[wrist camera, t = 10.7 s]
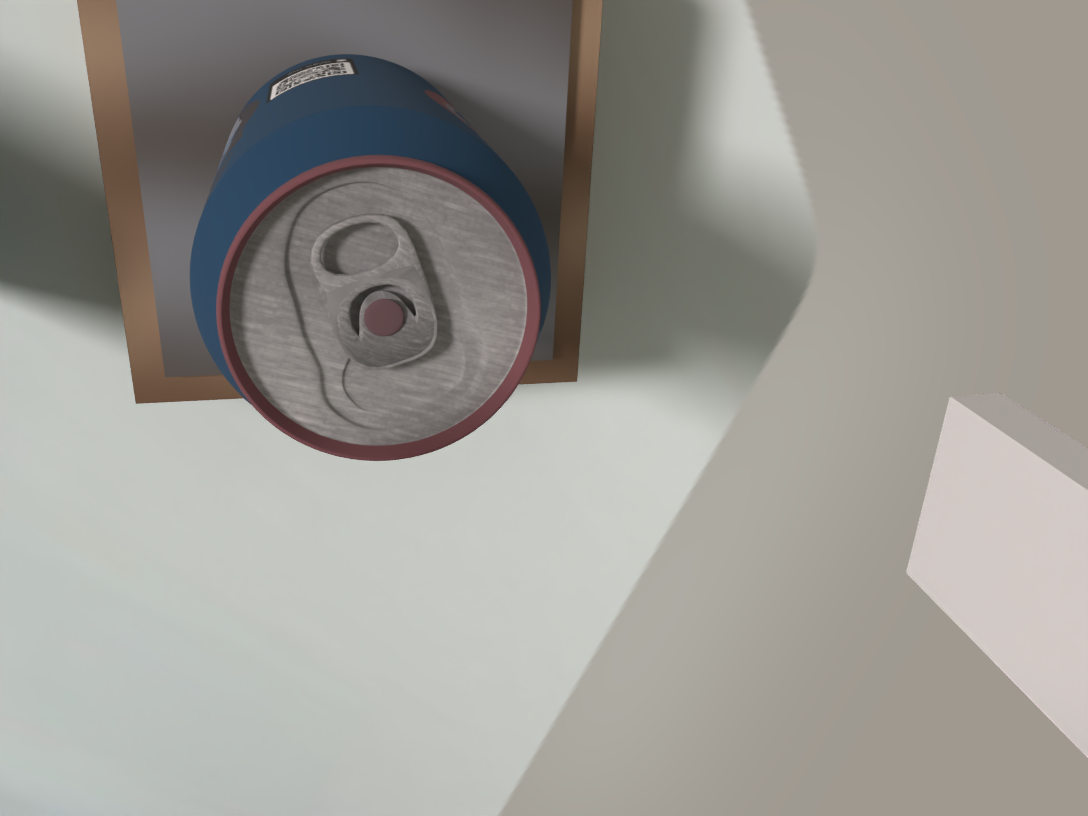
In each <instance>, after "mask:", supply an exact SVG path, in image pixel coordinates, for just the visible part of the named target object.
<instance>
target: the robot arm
mask: <svg viewBox="0 0 1088 816" xmlns="http://www.w3.org/2000/svg"><path fill="white" fill-rule="evenodd" d="M906 573H907V574H908V575H909V576H910V577H911V578H912V579H913V580H914V581H915V582H916V583H917V584H918V585H919V586H920V587H921V588H922V589H923V590H924V591H925V592H926V593H927V594H928V595H929V596H930V597H931V598H932V600H933V601H934V602H935V603H936V604H937V605H938V606H940V608H941V609H942V610H943V611H944V612H945V613H946V614H947V615H948V616H949V617H950V618H951V619H952V620H953V621H954V622H955V623H956V624H957V625H958V626H959V627H960V628H961V629H962V630H963V631H964V632H965V633H966V634H967V635H968V636H969V637H970V638H971V639H972V640H973V641H974V642H975V643H976V644H977V645H978V646H979V647H980V648H981V650H982V651H984V653H985V654H986V655H988V657H989V658H990V659H991V660H992V661H993V662H994V663H995V664H996V665H997V666H998V667H999V668H1000V669H1001V670H1002V671H1003V672H1004V673H1005V674H1006V675H1007V676H1008V677H1009V678H1010V679H1011V680H1012V681H1013V682H1014V683H1015V684H1016V685H1017V686H1018V687H1019V688H1020V689H1021V690H1022V691H1023V692H1024V693H1025V694H1026V695H1027V696H1028V697H1029V698H1030V699H1031V700H1032V701H1033V702H1034V703H1035V705H1036V706H1037V707H1038V708H1039V709H1040V710H1041V711H1042V712H1043V713H1044V714H1045V715H1046V716H1047V717H1048V718H1049V719H1050V720H1051V721H1052V722H1053V723H1054V724H1055V725H1056V726H1057V727H1058V728H1059V729H1060V730H1061V731H1062V732H1063V733H1064V734H1065V735H1066V736H1067V737H1068V738H1069V739H1070V740H1071V741H1072V742H1073V743H1074V744H1075V745H1076V746H1077V747H1078V748H1079V749H1080V750H1081V751H1082V753H1083V754H1084V755H1085V756H1086V757H1087V758H1088V448H1087V447H1086V446H1084V445H1082V444H1081V443H1079V442H1078V441H1076V440H1074V439H1073V438H1071V437H1070V436H1068V435H1066V434H1065V433H1063V432H1062V431H1060V430H1058V429H1057V428H1055V427H1054V426H1052V425H1051V424H1049V423H1047V422H1046V421H1044V420H1042V419H1041V418H1039V417H1038V416H1036V415H1035V414H1033V413H1032V412H1030V411H1028V410H1027V409H1025V408H1024V407H1022V406H1020V405H1019V404H1017V403H1016V402H1014V401H1012V400H1011V399H1009V398H1007V397H1006V396H1004V395H1003V394H1001V393H995V394H979V395H962V396H950V398H949V402H948V406H947V410H946V415H945V418H944V422H943V426H942V430H941V434H940V438H939V443H938V447H937V451H936V454H935V458H934V463H933V467H932V471H931V475H930V479H929V483H928V487H927V491H926V495H925V499H924V503H923V507H922V511H921V515H920V519H919V523H918V528H917V531H916V535H915V539H914V543H913V547H912V551H911V555H910V559H909V563H908V567H907V571H906Z"/></svg>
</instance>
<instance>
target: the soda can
mask: <svg viewBox="0 0 1088 816" xmlns="http://www.w3.org/2000/svg"><path fill="white" fill-rule="evenodd" d="M550 291H551V265H550V256H549V249H548V245H547V240H546V236H545V232H544V229H543V226H542V223H541V220H540V218H539V215H538V213H537V210H536V208H535V206H534V204H533V202H532V200H531V198H530V196H529V195H528V193H527V191H526V190H525V188H524V186H523V185H522V183H521V182H520V181H519V179H518V178H517V176H516V175H515V174H514V173H513V171H512V170H511V169H510V168H509V167H508V166H507V164H506V163H505V162H504V161H503V160H502V159H501V158H500V157H499V156H498V155H497V153H496V152H495V151H494V150H493V149H492V148H491V147H490V146H489V145H488V144H487V143H486V141H485V140H484V139H483V138H482V137H481V136H480V135H479V134H478V133H477V132H476V131H475V129H474V128H473V127H472V126H471V125H470V124H469V123H468V122H467V121H466V120H465V119H464V117H463V116H462V115H461V114H460V113H459V112H458V111H457V110H456V109H455V108H454V107H453V105H452V104H451V103H450V102H449V101H448V100H447V99H446V98H445V97H444V96H443V95H442V94H441V93H440V92H439V91H438V90H437V89H436V88H435V87H434V86H432V85H431V84H430V83H429V82H427V81H426V80H425V79H423V78H422V77H420V76H419V75H417V74H416V73H414V72H412V71H410V70H408V69H407V68H405V67H403V66H400V65H398V64H395V63H393V62H390V61H387V60H384V59H380V58H376V57H371V56H365V55H355V54H338V55H329V56H323V57H318V58H314V59H310V60H307V61H304V62H301V63H299V64H296V65H294V66H292V67H290V68H288V69H286V70H284V71H283V72H281V73H279V74H278V75H276V76H275V77H273V78H272V79H271V80H269V81H268V82H267V83H266V84H264V85H263V86H262V87H261V88H260V89H259V90H258V91H257V92H256V93H255V94H254V95H253V96H252V98H251V99H250V100H249V101H248V103H247V104H246V105H245V107H244V108H243V110H242V111H241V113H240V114H239V116H238V118H237V120H236V122H235V124H234V126H233V128H232V131H231V133H230V136H229V139H228V141H227V144H226V147H225V150H224V153H223V155H222V158H221V161H220V164H219V167H218V169H217V172H216V175H215V178H214V181H213V183H212V186H211V189H210V192H209V195H208V197H207V200H206V203H205V206H204V209H203V211H202V214H201V217H200V220H199V223H198V226H197V229H196V233H195V236H194V241H193V246H192V251H191V260H190V292H191V299H192V306H193V310H194V315H195V319H196V322H197V325H198V328H199V331H200V334H201V336H202V339H203V341H204V343H205V346H206V348H207V350H208V351H209V353H210V355H211V357H212V359H213V361H214V362H215V364H216V365H217V367H218V369H219V370H220V371H221V373H222V374H223V375H224V377H225V378H226V379H227V381H228V382H229V383H230V384H231V385H232V386H233V388H234V389H235V390H236V391H237V392H238V393H239V394H240V395H241V396H242V397H243V398H244V399H245V400H246V401H248V402H249V403H250V404H251V405H252V406H253V407H254V408H255V409H256V410H257V411H258V412H259V413H260V414H261V415H262V416H263V417H264V418H265V419H266V420H268V421H269V422H270V423H271V424H272V425H274V426H275V427H276V428H278V429H279V430H280V431H282V432H283V433H285V434H286V435H288V436H290V437H291V438H293V439H294V440H296V441H298V442H300V443H302V444H304V445H306V446H309V447H311V448H314V449H316V450H319V451H322V452H325V453H328V454H331V455H335V456H339V457H344V458H349V459H357V460H369V461H387V460H398V459H405V458H411V457H415V456H419V455H423V454H427V453H430V452H433V451H436V450H438V449H441V448H444V447H446V446H448V445H450V444H452V443H454V442H456V441H458V440H460V439H462V438H464V437H465V436H467V435H468V434H470V433H471V432H473V431H474V430H476V429H477V428H478V427H480V426H481V425H483V424H484V423H485V422H486V421H487V420H488V419H490V418H491V417H492V416H493V415H494V414H495V413H496V412H497V411H498V410H499V409H500V408H501V407H502V406H503V404H504V403H505V402H506V401H507V400H508V398H509V397H510V396H511V394H512V393H513V392H514V390H515V389H516V387H517V386H518V384H519V383H520V381H521V379H522V377H523V375H524V374H525V372H526V370H527V367H528V365H529V363H530V361H531V358H532V355H533V352H534V350H535V346H536V343H537V341H538V339H539V336H540V334H541V331H542V328H543V326H544V322H545V318H546V315H547V311H548V305H549V300H550Z"/></svg>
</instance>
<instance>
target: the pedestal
mask: <svg viewBox="0 0 1088 816" xmlns="http://www.w3.org/2000/svg"><path fill="white" fill-rule="evenodd" d="M77 4H78V11H79V17H80V24H81V31H82V38H83V45H84V52H85V58H86V65H87V72H88V79H89V86H90V93H91V100H92V106H93V113H94V120H95V127H96V134H97V141H98V148H99V154H100V161H101V168H102V175H103V182H104V189H105V196H106V202H107V209H108V216H109V223H110V230H111V237H112V243H113V250H114V257H115V264H116V271H117V278H118V285H119V291H120V298H121V305H122V312H123V319H124V326H125V333H126V339H127V346H128V353H129V360H130V367H131V374H132V381H133V387H134V394H135V401H136V404H138V403H158V402H178V401H198V400H218V399H237V398H243V397H242V396H241V395H240V394H239V393H238V392H237V391H236V390H235V389H234V388H233V386H232V385H231V384H230V383H229V382H228V381H227V379H226V378H225V377H224V375H223V374H222V373H221V371H220V370H219V369H218V367H217V365H216V364H215V362H214V361H213V359H212V357H211V355H210V353H209V351H208V350H207V348H206V346H205V343H204V341H203V339H202V336H201V334H200V331H199V328H198V325H197V322H196V319H195V315H194V310H193V306H192V299H191V292H190V260H191V251H192V246H193V241H194V236H195V233H196V229H197V226H198V223H199V220H200V217H201V214H202V211H203V209H204V206H205V203H206V200H207V197H208V195H209V192H210V189H211V186H212V183H213V181H214V178H215V175H216V172H217V169H218V167H219V164H220V161H221V158H222V155H223V153H224V150H225V147H226V144H227V141H228V139H229V136H230V133H231V131H232V128H233V126H234V124H235V122H236V120H237V118H238V116H239V114H240V113H241V111H242V110H243V108H244V107H245V105H246V104H247V103H248V101H249V100H250V99H251V98H252V96H253V95H254V94H255V93H256V92H257V91H258V90H259V89H260V88H261V87H262V86H263V85H264V84H266V83H267V82H268V81H269V80H271V79H272V78H273V77H275V76H276V75H278V74H279V73H281V72H283V71H284V70H286V69H288V68H290V67H292V66H294V65H296V64H299V63H301V62H304V61H307V60H310V59H314V58H318V57H323V56H329V55H338V54H355V55H365V56H371V57H376V58H380V59H384V60H387V61H390V62H393V63H395V64H398V65H400V66H403V67H405V68H407V69H408V70H410V71H412V72H414V73H416V74H417V75H419V76H420V77H422V78H423V79H425V80H426V81H427V82H429V83H430V84H431V85H432V86H434V87H435V88H436V89H437V90H438V91H439V92H440V93H441V94H442V95H443V96H444V97H445V98H446V99H447V100H448V101H449V102H450V103H451V104H452V105H453V107H454V108H455V109H456V110H457V111H458V112H459V113H460V114H461V115H462V116H463V117H464V119H465V120H466V121H467V122H468V123H469V124H470V125H471V126H472V127H473V128H474V129H475V131H476V132H477V133H478V134H479V135H480V136H481V137H482V138H483V139H484V140H485V141H486V143H487V144H488V145H489V146H490V147H491V148H492V149H493V150H494V151H495V152H496V153H497V155H498V156H499V157H500V158H501V159H502V160H503V161H504V162H505V163H506V164H507V166H508V167H509V168H510V169H511V170H512V171H513V173H514V174H515V175H516V176H517V178H518V179H519V181H520V182H521V183H522V185H523V186H524V188H525V190H526V191H527V193H528V195H529V196H530V198H531V200H532V202H533V204H534V206H535V208H536V210H537V213H538V215H539V218H540V220H541V223H542V226H543V229H544V232H545V236H546V240H547V245H548V249H549V256H550V265H551V291H550V300H549V305H548V311H547V315H546V318H545V322H544V326H543V328H542V331H541V334H540V336H539V339H538V341H537V343H536V346H535V350H534V352H533V355H532V358H531V361H530V363H529V365H528V367H527V370H526V372H525V374H524V375H523V377H522V379H521V381H520V383H519V384H536V383H556V382H576V381H577V373H578V358H579V344H580V329H581V314H582V299H583V285H584V270H585V255H586V240H587V226H588V211H589V196H590V182H591V167H592V152H593V137H594V123H595V108H596V93H597V78H598V64H599V49H600V34H601V19H602V5H603V0H77Z"/></svg>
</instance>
